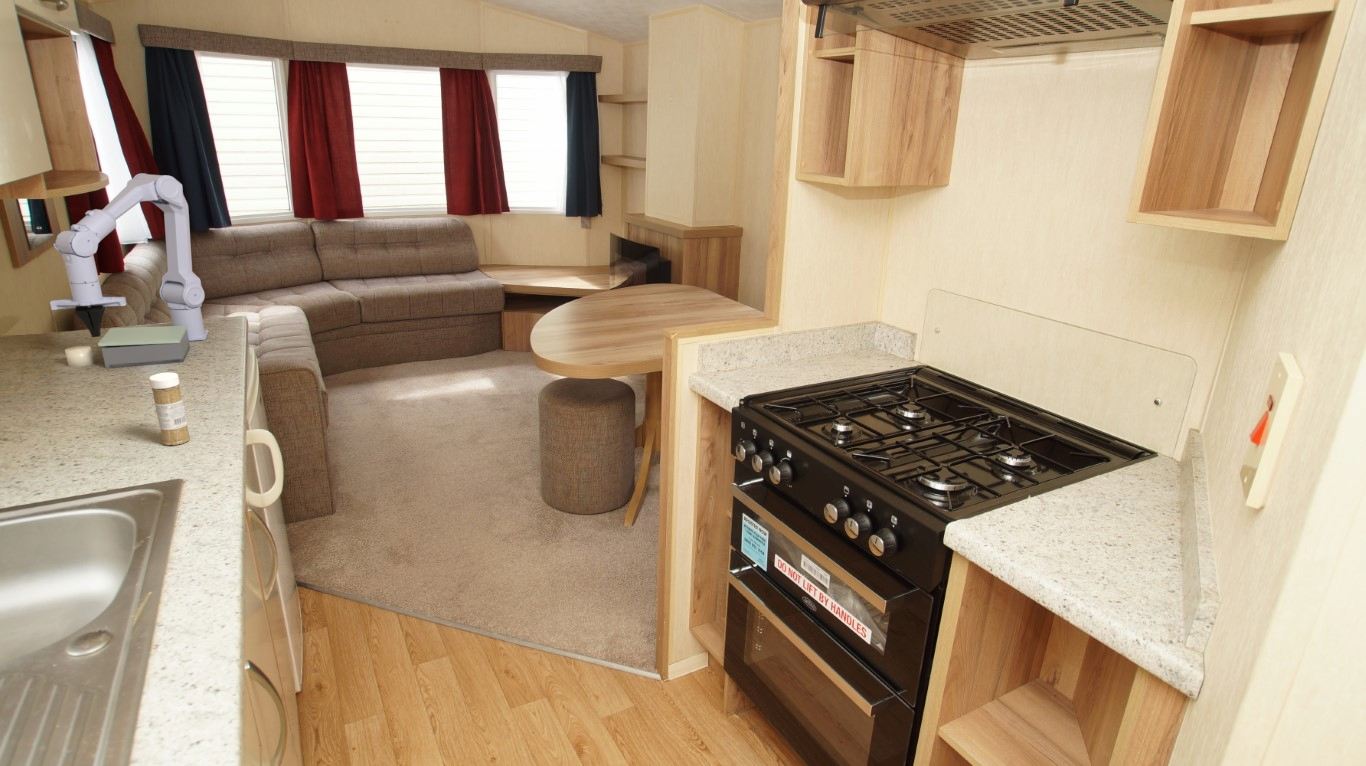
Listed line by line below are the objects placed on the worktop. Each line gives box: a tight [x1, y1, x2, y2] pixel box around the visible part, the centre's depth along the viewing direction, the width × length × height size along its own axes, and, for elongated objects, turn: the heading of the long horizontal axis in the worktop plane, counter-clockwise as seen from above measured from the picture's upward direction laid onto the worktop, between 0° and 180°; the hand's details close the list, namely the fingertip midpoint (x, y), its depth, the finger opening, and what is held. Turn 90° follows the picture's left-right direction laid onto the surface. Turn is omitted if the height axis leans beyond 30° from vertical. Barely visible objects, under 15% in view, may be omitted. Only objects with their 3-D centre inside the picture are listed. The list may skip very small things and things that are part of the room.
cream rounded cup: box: [64, 345, 95, 368], centre depth 185 cm, size 5×5×4 cm
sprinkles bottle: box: [148, 371, 191, 446], centre depth 142 cm, size 5×5×14 cm
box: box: [101, 330, 191, 369], centre depth 191 cm, size 14×16×5 cm
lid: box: [97, 325, 187, 347], centre depth 190 cm, size 15×16×1 cm
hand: (96, 336), depth 186 cm, fingers closed
